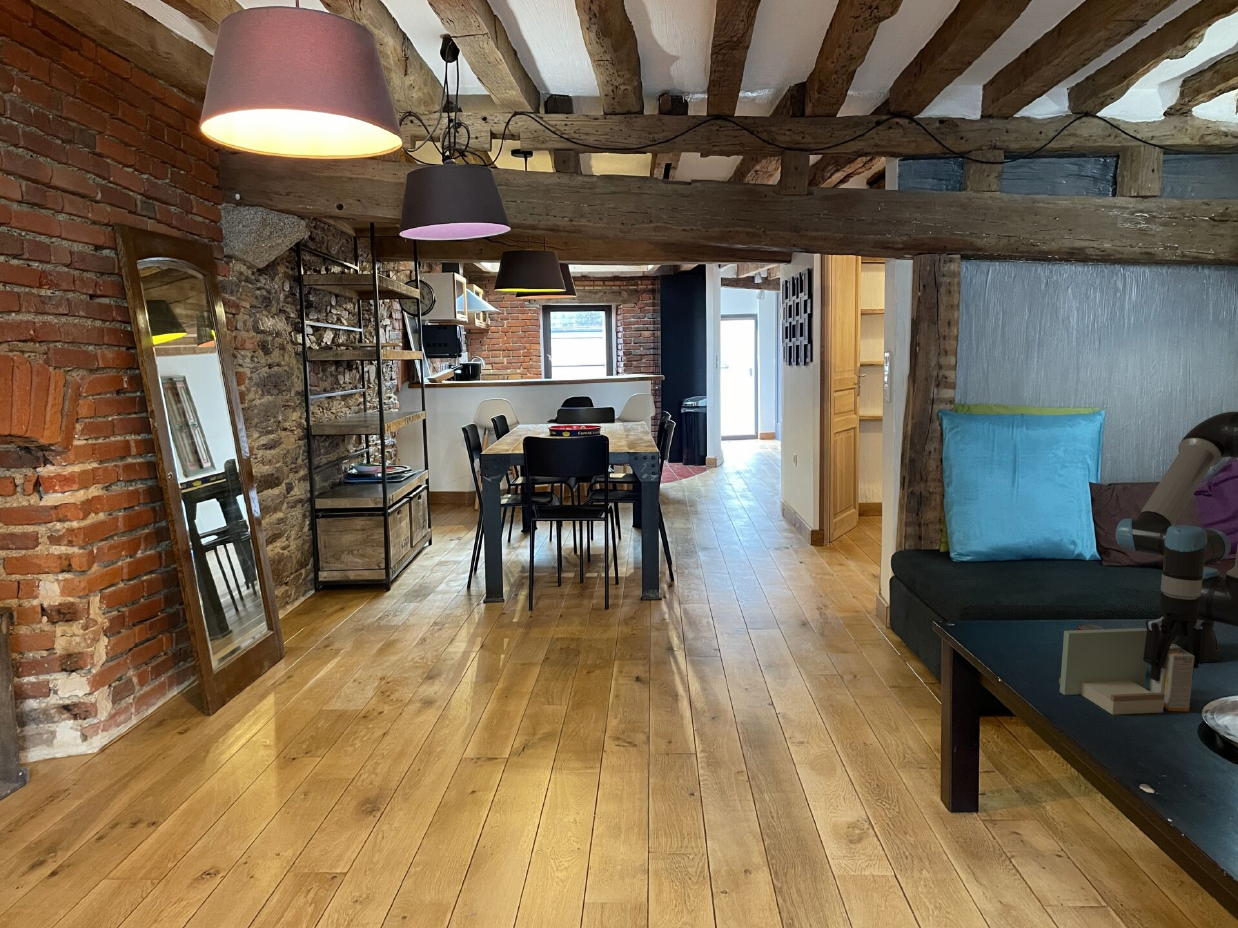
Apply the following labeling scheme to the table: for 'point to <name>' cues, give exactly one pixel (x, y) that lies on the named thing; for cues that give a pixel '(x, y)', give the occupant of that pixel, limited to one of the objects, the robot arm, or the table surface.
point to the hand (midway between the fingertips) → (1170, 693)
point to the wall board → (1108, 670)
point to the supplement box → (1177, 679)
